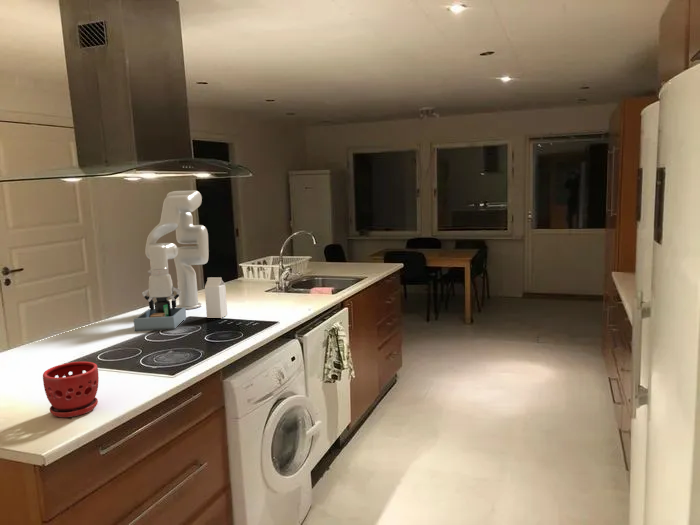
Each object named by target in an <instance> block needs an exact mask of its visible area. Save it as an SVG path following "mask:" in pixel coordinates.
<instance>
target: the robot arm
mask: <svg viewBox="0 0 700 525" xmlns="http://www.w3.org/2000/svg"><path fill="white" fill-rule="evenodd" d="M202 199H203V196H202V194H201V193H200V191H198V190H173V191H170V192H168V193H167V194H166V197H165V198H164V200H163V204H162V209H161V210H162V211H161V216H160V221H159V223H158V224H157V225H155V227H153V229H152V230H151V231H150V232H149V234H148V236H147V239H146V242H145V243H146V244H145V249H144V250H145V251H144V252H145V256H146V258H147V259H149V264H150V269H149V270H147V273H148V274H150V275H149V276H148V277H149V278H148V289H145V290H144V291H142V293H141V294H142V296H143V298H144V299H145V300H146V302H148V307H149V308H148V309H151V310H153V309H155V305H154V304H155V302H154V299H156V298H164V297H168V298H170V299H171V301H170V304H171V308H172V309H175V308H182V307H185V309H186V310H190V309H198V308H200V306H201V305H202V303H201V302H199V294H198V283H197V280H198V279H197V274H196V271H195V269H194V268H193V266H195V265H196V266H197V265H198V266H199V265H205V264H207V263H208V261H209V252H210V250H209V233H208V229H207V227H206V226H204V225H203V224H195V225H194V221H193V220H194V219H193V218H194V217H193V214H192V213H193V212H195V211H196V210H197V209H198V208H199V207H200V206H201V205H202V202H203V201H202ZM174 231H175V237H176V238H175V239H176V242H177V243H178V244H181V245H190V246H180V247H179V246H177V244H176V243H172V242H159V243H157V242H158V241H159V239H160V238H162V237H163V236H165V235H167V234H169V233H171V232H174ZM193 244H194V245H195V244H197V246H196V245H195V246H191V245H193ZM169 260H174V266H175V270H176V271H175V272H176V280H177V287H174V285H173V279H172V276H171V273H169V271H170V270H169ZM175 293H176V294H175ZM174 294H175V295H174ZM177 299H178V304H177ZM197 307H198V308H197ZM201 307H202V306H201Z"/></svg>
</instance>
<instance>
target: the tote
mask: <svg viewBox="0 0 700 525" xmlns="http://www.w3.org/2000/svg"><path fill="white" fill-rule="evenodd" d="M186 310H187V309H185V307H182V308H176V307H175V309H172V307H171V317H152V318H150V316H151V315H152V314H153V313H155V308H154V309H153V310H151V309H150V308H148V309H146V310H144V312H142V313H140V314H139V315H137V316H135V317H134V318H133V325H134V332H147V331H148V332H149V331H166V329H171V330H176V329H177V328H178V327H179V326H180V325H181V324H182V323H183V322H184V321H186V320H187V312H186ZM183 320H184V321H183ZM182 321H183V322H182ZM181 322H182V323H181ZM180 323H181V324H180ZM179 324H180V325H179ZM178 325H179V326H178ZM177 326H178V327H177ZM176 327H177V328H176ZM175 328H176V329H175Z"/></svg>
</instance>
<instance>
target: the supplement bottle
mask: <svg viewBox="0 0 700 525" xmlns="http://www.w3.org/2000/svg"><path fill="white" fill-rule="evenodd" d="M168 298H169V297H164V298H155V300H156V301H155V302H154V309H155V313H165V317H171V308H172V305H171V301H170V300H168Z"/></svg>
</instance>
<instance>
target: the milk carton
mask: <svg viewBox="0 0 700 525" xmlns="http://www.w3.org/2000/svg"><path fill="white" fill-rule="evenodd" d="M206 280H207V281H206V283H205V285H204V295H205V296H204V297H205V308H206V318H221V319H223V318H224V316H225V317H227V316H228V303H227V289H226V283H225V282H224V281H223V279H222V277H221V276H220V277H219V276H218V277H212V276H211V277H207V279H206ZM226 315H227V316H226ZM222 317H223V318H222Z"/></svg>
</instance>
